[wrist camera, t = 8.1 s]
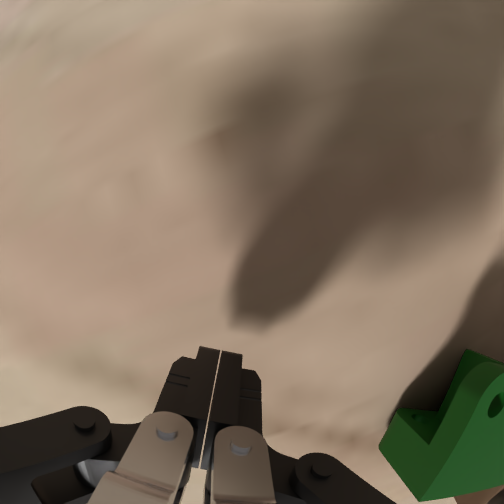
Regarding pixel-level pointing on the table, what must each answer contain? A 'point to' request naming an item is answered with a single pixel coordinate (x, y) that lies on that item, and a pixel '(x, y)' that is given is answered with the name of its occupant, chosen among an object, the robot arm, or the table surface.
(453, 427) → the clamp
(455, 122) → the table surface
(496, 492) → the bar
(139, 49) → the table surface
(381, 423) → the table surface
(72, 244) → the table surface
